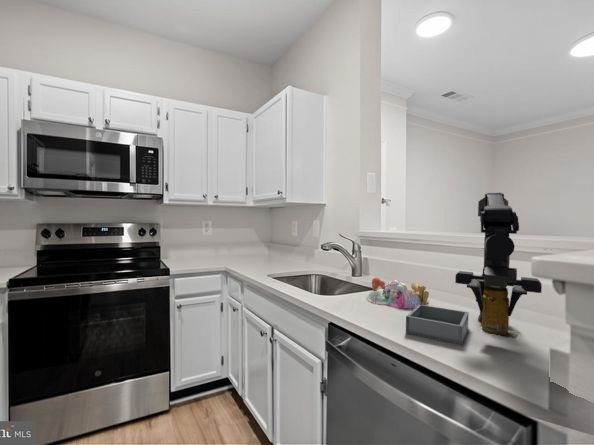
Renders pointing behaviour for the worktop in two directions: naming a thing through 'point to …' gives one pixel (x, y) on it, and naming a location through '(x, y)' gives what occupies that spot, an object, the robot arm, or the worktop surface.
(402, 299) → the colourful coral reef
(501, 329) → the condiment
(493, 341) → the worktop surface
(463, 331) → the bin
